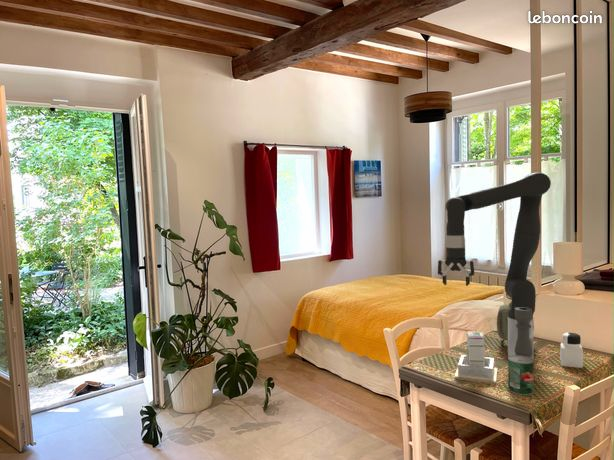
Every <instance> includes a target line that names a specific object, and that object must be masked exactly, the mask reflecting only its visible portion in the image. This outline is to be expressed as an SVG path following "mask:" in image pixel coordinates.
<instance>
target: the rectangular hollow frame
mask: <svg viewBox="0 0 614 460" xmlns="http://www.w3.org/2000/svg"><path fill="white" fill-rule="evenodd" d="M498 368H499V367H496V366H495V358H494V357H489V356H488V357H487V356H485V367H483V366H474V365H468V362H467V355H466V354H461V355H460V358H459V361H458V363H457V368H456V370H455V374H454V380H460V381H461V380H462V381H467V382H468V381H469V382H478V383H485V384H492V385H497V378H498Z"/></svg>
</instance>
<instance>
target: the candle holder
mask: <svg viewBox="0 0 614 460" xmlns="http://www.w3.org/2000/svg"><path fill="white" fill-rule="evenodd" d="M515 318H516V320H517V322H518V323H517V324H516V327H517V329H518V337H517V341H516V345H515V349H514V351H515V354H516V355H521V356H527V357H531V356H532V354H533V355H534V349H533V350H532V346H531V342H530V338H529V329H530V328H531V325H530V324H529V323H530V321H531V319H532V309H531V308H526V307H517V308H515Z"/></svg>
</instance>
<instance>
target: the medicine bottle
mask: <svg viewBox="0 0 614 460" xmlns="http://www.w3.org/2000/svg"><path fill="white" fill-rule="evenodd" d="M581 338H582V337H581V335H580V334H578V333H576V332H565V333H563V334H562V342H561V343H560V344H559V345H560V351H559V352H560V355H559V356H560V358H559V359H560V363H561V366H562V367H568V368H569V367H570V368H578V369H583V368H584V350H583V347H582V345H581V340H582V339H581Z"/></svg>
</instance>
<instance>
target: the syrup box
mask: <svg viewBox="0 0 614 460" xmlns="http://www.w3.org/2000/svg"><path fill="white" fill-rule="evenodd" d="M466 354H467V362H468V365H474V366H483V367H485V357H486V356H485V355H486V354H485V336H484V335H483V332H481V331H466Z"/></svg>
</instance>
